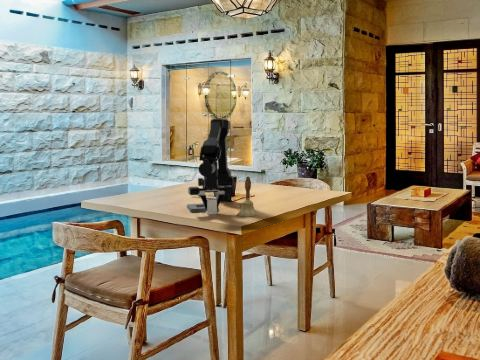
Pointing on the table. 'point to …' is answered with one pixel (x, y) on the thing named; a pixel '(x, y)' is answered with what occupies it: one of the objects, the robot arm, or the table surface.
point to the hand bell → (247, 201)
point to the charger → (211, 206)
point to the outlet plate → (197, 207)
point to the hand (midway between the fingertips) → (211, 210)
